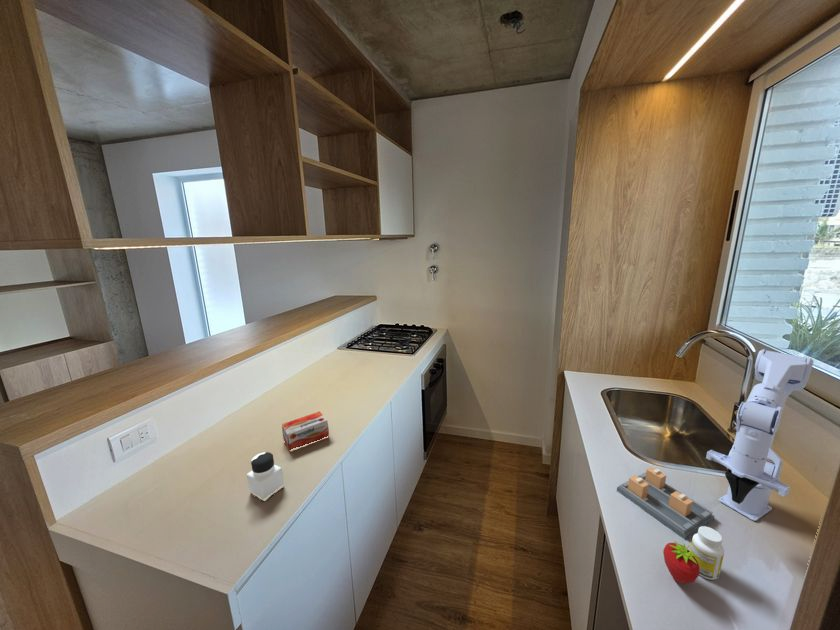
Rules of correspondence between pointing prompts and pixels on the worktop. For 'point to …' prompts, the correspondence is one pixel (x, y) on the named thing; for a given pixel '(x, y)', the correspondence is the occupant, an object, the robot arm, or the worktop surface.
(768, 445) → the robot arm
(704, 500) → the worktop surface
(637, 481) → the orange box
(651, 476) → the cardboard box
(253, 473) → the medicine bottle
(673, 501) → the tan box with strip
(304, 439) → the medicine box
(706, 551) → the supplement bottle
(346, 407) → the worktop surface
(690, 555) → the strawberry
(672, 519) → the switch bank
